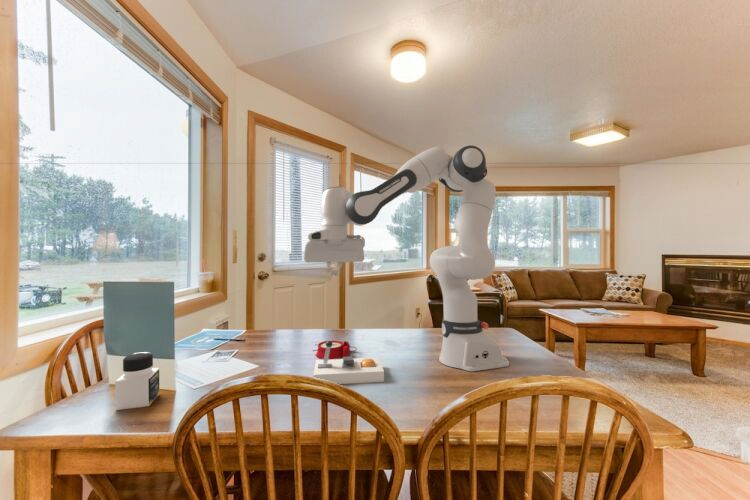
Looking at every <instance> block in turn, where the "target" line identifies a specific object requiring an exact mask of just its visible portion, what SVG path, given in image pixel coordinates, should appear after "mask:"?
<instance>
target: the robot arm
mask: <svg viewBox="0 0 750 500" xmlns="http://www.w3.org/2000/svg"><path fill="white" fill-rule="evenodd" d="M486 159H487V158H486V156H485V153H484V152H483V150H482V149H481V148H480V147H478V146H476V145H472V144H471V145H465V146H463V147H461V148H460V149H459V150H458V151H456V152H455V154H454V155H453V156H452V155H450V154H448V151H446V149H444V148H442V147H440V146H434V147H430V148H429V149H427V150H423V151H422V152H420V153H418V154H416V155H415V156H413V157H412V158H411V159H409V160H408V161H405V163H403V164H402V166H401V167H400V168H398V170H397V171H396V173H395V174H394V175H392V177H390V178H389V179H387V180H385V181H384V182H382V183H381V184H379V185H378V186H376V187H374V188H373V189H372V188H371V189H370V190H363V191H358V192H355V193H353V192H351V191H349V190H347V188H346V187H344V186H332V187H328V188H327V189H325V190H324V191H323V193H322V196H321V203H320V205H321V206H320V214H321V218H322V219H321V224H320V225H321V226H320V228H321V229H320V230H316V231H314V232H310V233H308V235H307V239H308V241H307V242H306V243H305V246H304V252H303V261H304V262H305V263H326V266H327V268H328V270H329V274H330V275H329V276H330V277H339V276H340V270H341V268H342V266H343V263H362V262H364V260H365V250H364V247H366V240H365V238H364V237H363V236H361V235H360V234H356V235H354V234H348V224H351V225H355V226H359V227H360V226H365V225H368V224H370V223H371V222H373V221H374V220H375V219H376V218H377V216H378V215H379V212H380V211H381V209H383V208H384V207H385V206H387V205H388V204H389V203H390V202H392V201H394V200H395V199H396V198H398V197H399V196H401V195H404V194H407V193H409V194H414V193H416V192H419V191H421V190H423V189H425V188H427V187H428V186H430V185H431V184H432V183H434V182H435V181H437V180H438V181H439V183H441V184H443V185H444V187H445V188H447V190H449V191H450V192H452V193H460V192H461V193H462V198H461V201H460V204H459V208H458V212H457V214H456V218H455V220H454V226H453V227H454V230H455V231H456V233H458V244H457V245H447V246H446V245H445V246H442V247H439V248H436V249H435V250H433V251H432V253H431V254H430V257H429V266H430V269H431V270H432V271H433V272H434V274H435V275H436V277H437V279H438V280H437V281H439V285H440V288H441V293H442V301H443V302H442V304H443V306H442V307H443V317H442V322H441V332H442V333H441V334H442V343H441V349H440V354H439V357H438V362H440V363H442V365H445V366H448V367H451V368H456V369H460V370H461V369H462V370H464V371H468V372H477V371H484V370H491V369H499V368H506V367H509V366H510V362H509V360H508V359H507V357H505V356H503V354H502V350H501V347H500V344H499V343H498V342H497V340H495V339H493V337H491V336H490V335H489V334H488V333H487V332H485V331H483V330H487V329H488V328H489V323H487V322H485V321H481V320H479V319H478V298H477V295H476V293H475V292H474V291H473V290H472V289H471V287H470V285H469V283H468V280H471V281H475V280H482V279H483V280H484V279H486V278H487V279H488V278H489V277H490V276H491V275H492V274H493V272H494V270H495V267H496V259H495V255H494V254H493V252H492V251H491V249H490V248H489V246H488V239H487V238H488V229H489V226H490V222H491V219H492V215H493V211H494V206H495V202H496V201H495V200H496V186H495V184H494V182H492V181H491V180H488V179H486V176H487V175H488V169H487V162H486V161H487V160H486ZM332 263H337V266H338V268H337V269H336V270H334V269H332V267H331V266H332Z"/></svg>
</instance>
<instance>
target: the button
mask: <svg viewBox="0 0 750 500" xmlns="http://www.w3.org/2000/svg"><path fill="white" fill-rule="evenodd" d="M364 367H374V360H373V359H364V360H362V368H364Z"/></svg>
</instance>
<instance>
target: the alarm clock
mask: <svg viewBox="0 0 750 500" xmlns="http://www.w3.org/2000/svg"><path fill="white" fill-rule="evenodd" d="M327 341H328V340H326V341H322V342H319V343H318V344H315V346H317V349H315V350H314V349H313V350H312V352H316V351H317V352H316V354H315V356H316V357H317V358H318V359H320V360H324V356H325V351H326V342H327ZM330 341H331V342H332V347H331V348H330V353H329V358H328V360H331V359H342V358H343V357H350V353H352V352H356V351H357V350H358V348H357V347H356V346H353V349H354V348H355V350H350V349H351V348H352V346H351V345H350V343H349V342H348V341H347V340H346V341H344V342H342V341H340V340H339V341H338V340H330Z"/></svg>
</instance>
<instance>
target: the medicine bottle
mask: <svg viewBox="0 0 750 500" xmlns="http://www.w3.org/2000/svg"><path fill="white" fill-rule="evenodd" d="M153 358H154V355H153V354H152V353H151V352H148V351H144V352H143V351H142V352H141V351H140V352H134V353H131V354H128V355H127V356H125V357H124V358H123V359H122V373H123V374H122V375H121V376H120V377H119V378H117V379H116V380H115V382H114V390H115V392H114V394H115V395H114V399H115V404H114V407H115V411H120V410H121V411H122V410H129V409H139V408H146V407H150V405H152V403H153V402H154V401H155V400H156V399H157V398H158V396H159V395H160V368H159V367H154V359H153Z"/></svg>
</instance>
